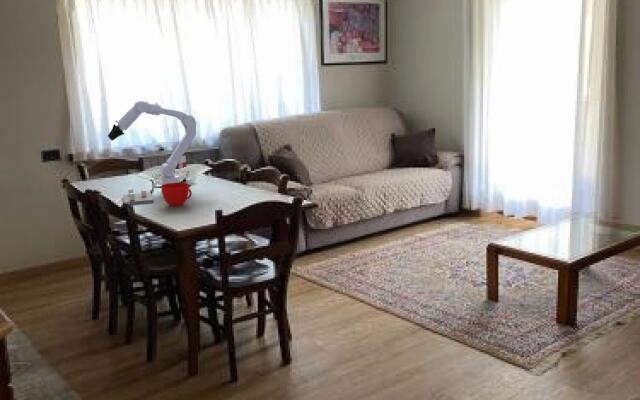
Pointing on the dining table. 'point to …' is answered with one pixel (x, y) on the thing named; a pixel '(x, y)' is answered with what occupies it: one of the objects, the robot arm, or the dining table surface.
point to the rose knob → (143, 193)
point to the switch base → (139, 199)
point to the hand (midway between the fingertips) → (109, 138)
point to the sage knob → (132, 196)
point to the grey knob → (130, 190)
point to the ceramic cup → (175, 193)
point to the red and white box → (181, 162)
